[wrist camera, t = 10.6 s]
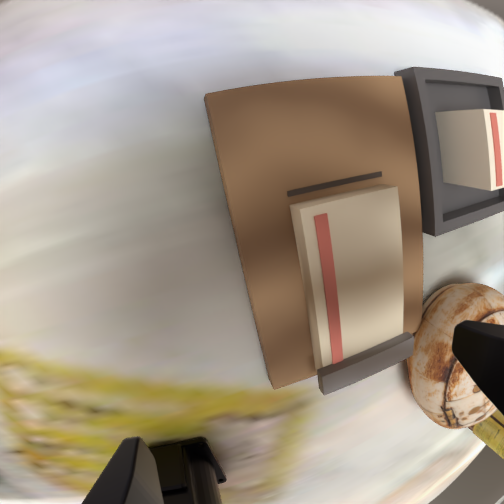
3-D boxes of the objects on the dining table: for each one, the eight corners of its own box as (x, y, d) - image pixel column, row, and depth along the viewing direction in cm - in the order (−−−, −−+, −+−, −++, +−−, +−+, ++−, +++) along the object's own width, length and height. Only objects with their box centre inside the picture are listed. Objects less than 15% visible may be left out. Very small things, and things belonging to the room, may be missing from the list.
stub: (487, 173, 21) (531, 180, 16) (443, 182, 20) (492, 191, 15) (481, 112, 19) (525, 112, 15) (434, 112, 18) (484, 108, 14)
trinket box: (453, 399, 29) (494, 437, 22) (360, 405, 25) (407, 466, 17) (506, 293, 27) (559, 321, 19) (430, 260, 22) (508, 297, 15)
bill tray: (498, 202, 23) (514, 206, 21) (416, 230, 21) (435, 236, 19) (484, 79, 19) (501, 78, 17) (394, 72, 17) (413, 66, 15)
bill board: (412, 322, 23) (439, 342, 20) (269, 379, 21) (284, 411, 18) (390, 79, 17) (425, 69, 14) (204, 98, 16) (211, 83, 12)
